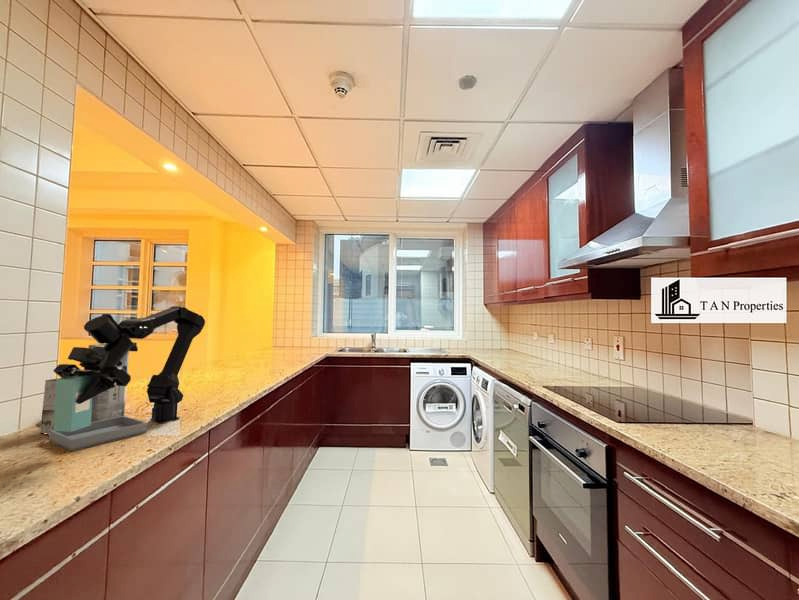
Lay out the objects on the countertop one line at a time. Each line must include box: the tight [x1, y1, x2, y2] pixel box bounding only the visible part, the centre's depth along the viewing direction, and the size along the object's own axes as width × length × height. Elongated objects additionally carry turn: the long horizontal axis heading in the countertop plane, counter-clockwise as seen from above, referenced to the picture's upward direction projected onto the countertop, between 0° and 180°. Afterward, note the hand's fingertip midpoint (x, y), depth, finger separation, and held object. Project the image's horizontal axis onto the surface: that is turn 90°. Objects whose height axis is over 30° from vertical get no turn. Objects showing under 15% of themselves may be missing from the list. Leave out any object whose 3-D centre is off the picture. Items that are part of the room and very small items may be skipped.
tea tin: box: [53, 375, 92, 432], centre depth 90 cm, size 5×5×13 cm
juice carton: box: [88, 343, 130, 422], centre depth 118 cm, size 9×10×27 cm
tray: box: [48, 415, 148, 453], centre depth 102 cm, size 18×14×3 cm
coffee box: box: [39, 377, 60, 434], centre depth 107 cm, size 9×6×16 cm
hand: (68, 402), depth 88 cm, fingers closed on tea tin, 5 cm apart
